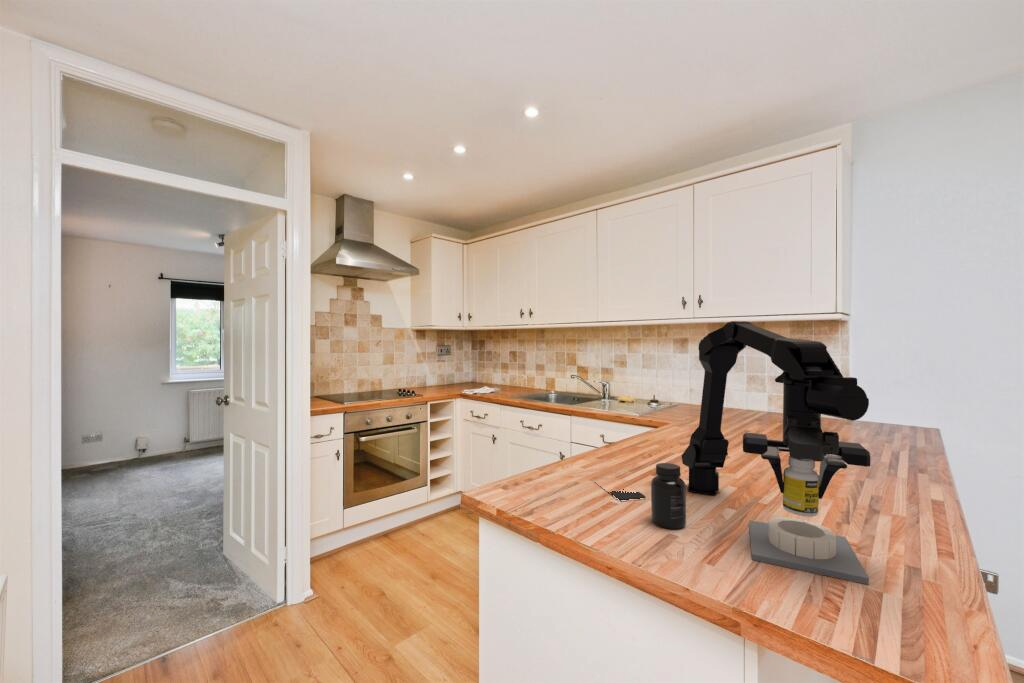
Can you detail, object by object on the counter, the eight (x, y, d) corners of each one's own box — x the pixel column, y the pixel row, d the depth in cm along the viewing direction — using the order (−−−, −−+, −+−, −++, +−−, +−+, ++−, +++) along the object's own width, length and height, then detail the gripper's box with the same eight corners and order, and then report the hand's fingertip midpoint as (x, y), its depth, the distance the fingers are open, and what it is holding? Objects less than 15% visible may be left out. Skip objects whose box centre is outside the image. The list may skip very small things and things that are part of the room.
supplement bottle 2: (808, 520, 74) (808, 463, 74) (776, 508, 79) (777, 456, 79) (825, 514, 77) (825, 459, 76) (793, 503, 81) (794, 452, 81)
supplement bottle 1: (684, 518, 91) (685, 463, 91) (686, 532, 85) (687, 472, 85) (651, 514, 94) (651, 459, 93) (650, 527, 87) (651, 468, 87)
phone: (617, 478, 117) (647, 497, 103) (617, 481, 117) (647, 500, 103) (592, 480, 115) (619, 499, 101) (592, 483, 115) (619, 503, 101)
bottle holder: (751, 559, 74) (752, 536, 74) (749, 524, 88) (749, 505, 88) (868, 584, 67) (869, 559, 67) (845, 542, 81) (845, 521, 81)
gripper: (744, 412, 75) (743, 500, 75) (880, 422, 66) (879, 522, 66) (743, 403, 85) (742, 481, 85) (862, 411, 76) (860, 498, 76)
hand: (800, 495), depth 78 cm, fingers closed on supplement bottle 2, 5 cm apart
